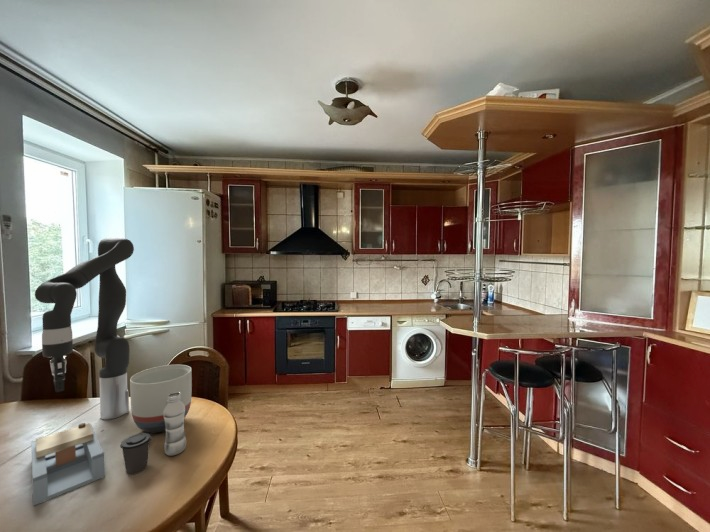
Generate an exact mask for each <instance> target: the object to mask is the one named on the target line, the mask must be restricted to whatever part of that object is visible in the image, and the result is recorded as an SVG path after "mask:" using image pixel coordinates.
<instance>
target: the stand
mask: <svg viewBox="0 0 710 532" xmlns="http://www.w3.org/2000/svg"><path fill="white" fill-rule="evenodd" d="M89 424H90V426H91V429H92V431H93V438H94V440H91V441H88V442H85V443H82V444H79V445H76V446H75V449H76V460H73V461H70V462H68V463H65V464H62V465H59V466H56V459H55V453H52V454H49V455H46V456H43V457H40V458H37V454H36V440H32V441H31V442H30V444H31V475H32V477H31V478H32V480H31V481H32V499H33V501H32V502H33V503H32V504H33V506H36V505H39V504H41V503H44V502H47V501H48V500H52V499H54V498H55V497H58V496H60V495H64V494H65V493H68V492H70V491H73V490H75V489H77V488H80V487H82V486H85V485H87V484H90V483H92V482H95V481H98V480H101V479H102V478H105V476H106V474H105V473H106V471H105V470H106V469H105V452H104V451H103V450H102V447H101V445H100V442H99V440H98V437H97V435H96V432H95V430H94V426H92V425H93V424H92V423H89Z"/></svg>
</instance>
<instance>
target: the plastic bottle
mask: <svg viewBox="0 0 710 532" xmlns="http://www.w3.org/2000/svg"><path fill="white" fill-rule="evenodd" d="M180 399H181V397H180V393H179V392H176V393H172V394H169V395H168V402H169V403H168V404H167V406H166V407H165V409H164V412H163V416H164V420H165V428H166V431H165V440H164V447H163V449H164V454H165V455H167V456H170V457H171V456H172V457H173V456H177V455H179V454H181V453H183V452H184V450H185V449H186V447H187V437H186V434H185V427H184V426H185V424H184V423H185V418H184V415H185V406H184V404H183V403H182V402H181V401H180Z"/></svg>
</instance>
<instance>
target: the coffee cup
mask: <svg viewBox="0 0 710 532" xmlns="http://www.w3.org/2000/svg"><path fill="white" fill-rule="evenodd" d="M151 440H152V435H151V434H150V433H149V432H141V433H136V434H132V435H130V436H128V437H127V438H125V439H123V440H122V442H121V443H120V445H119V447H120V448H121V451H122V455H123V461H124V467H125V473H126V474H127V475H130V476H131V475H133V476H134V475H136V474H139V473H141V472H143V471H144V470H145V469H147V467H148V459H149V450H150V441H151Z"/></svg>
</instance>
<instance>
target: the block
mask: <svg viewBox="0 0 710 532" xmlns="http://www.w3.org/2000/svg"><path fill="white" fill-rule="evenodd" d="M55 459H56V466H59V465H62V464H65V463H68V462H70V461H73V460H76V449H75V446H73V447H70V448H67V449H64V450H61V451H58V452H55Z"/></svg>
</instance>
